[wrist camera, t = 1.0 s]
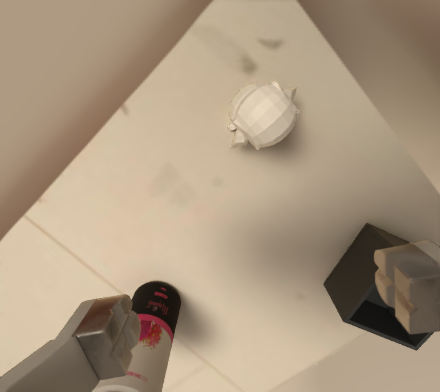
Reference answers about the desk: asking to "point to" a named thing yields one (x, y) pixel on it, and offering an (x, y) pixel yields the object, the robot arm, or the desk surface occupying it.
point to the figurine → (262, 114)
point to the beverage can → (149, 340)
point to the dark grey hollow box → (368, 289)
